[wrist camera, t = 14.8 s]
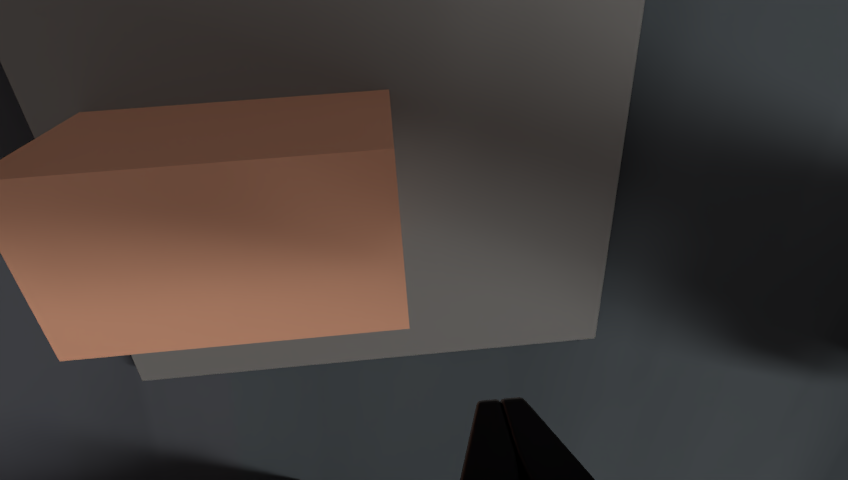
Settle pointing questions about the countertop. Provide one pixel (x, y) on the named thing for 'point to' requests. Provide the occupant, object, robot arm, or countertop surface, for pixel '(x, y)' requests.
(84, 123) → the block
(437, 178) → the mat
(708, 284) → the countertop surface
